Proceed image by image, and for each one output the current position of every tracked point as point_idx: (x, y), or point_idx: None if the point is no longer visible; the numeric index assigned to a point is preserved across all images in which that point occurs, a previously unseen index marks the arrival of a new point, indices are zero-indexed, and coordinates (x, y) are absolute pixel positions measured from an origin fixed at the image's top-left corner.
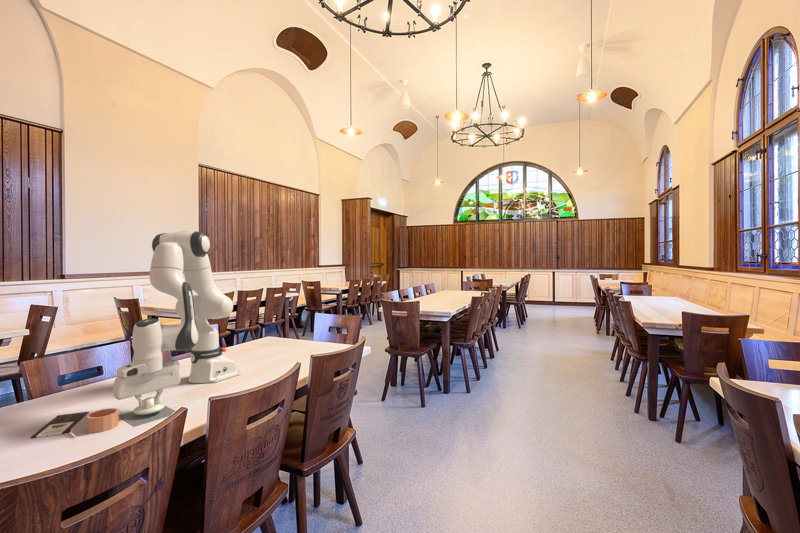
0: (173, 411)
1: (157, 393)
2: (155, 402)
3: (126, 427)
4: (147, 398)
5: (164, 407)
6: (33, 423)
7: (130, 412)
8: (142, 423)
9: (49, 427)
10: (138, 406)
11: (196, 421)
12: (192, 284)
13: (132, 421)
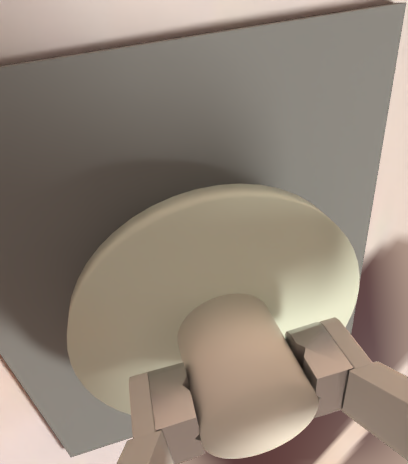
0: None
1: (397, 416)
2: None
3: (21, 427)
4: (251, 408)
5: (351, 200)
6: None
7: (32, 111)
8: (125, 433)
9: None
10: (131, 243)
11: (331, 460)
12: None
13: (61, 379)
